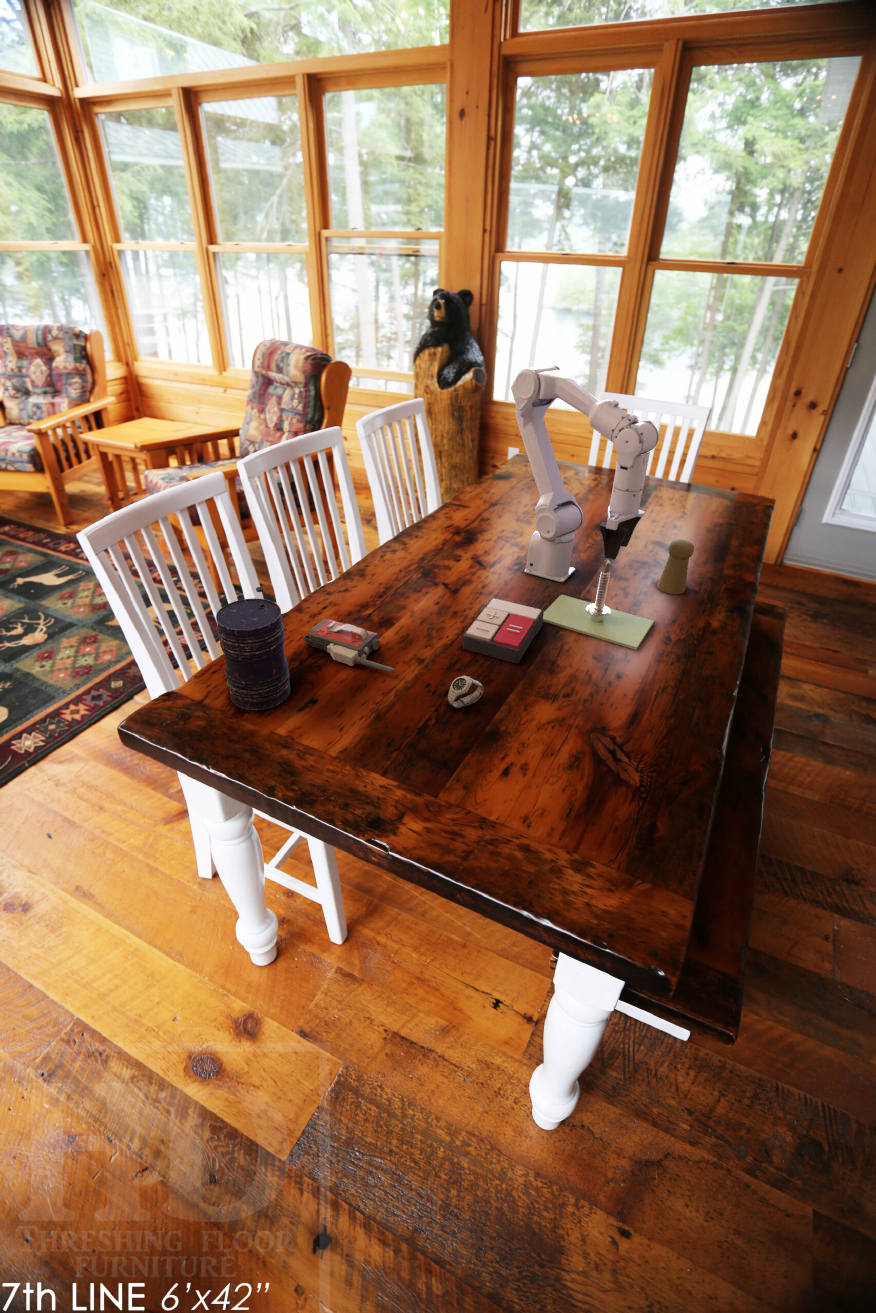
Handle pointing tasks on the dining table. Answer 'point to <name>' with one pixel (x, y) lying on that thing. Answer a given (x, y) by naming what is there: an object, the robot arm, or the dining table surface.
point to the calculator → (503, 630)
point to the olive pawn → (676, 567)
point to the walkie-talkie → (345, 643)
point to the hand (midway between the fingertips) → (616, 551)
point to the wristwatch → (464, 691)
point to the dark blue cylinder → (254, 652)
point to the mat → (612, 629)
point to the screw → (601, 596)
